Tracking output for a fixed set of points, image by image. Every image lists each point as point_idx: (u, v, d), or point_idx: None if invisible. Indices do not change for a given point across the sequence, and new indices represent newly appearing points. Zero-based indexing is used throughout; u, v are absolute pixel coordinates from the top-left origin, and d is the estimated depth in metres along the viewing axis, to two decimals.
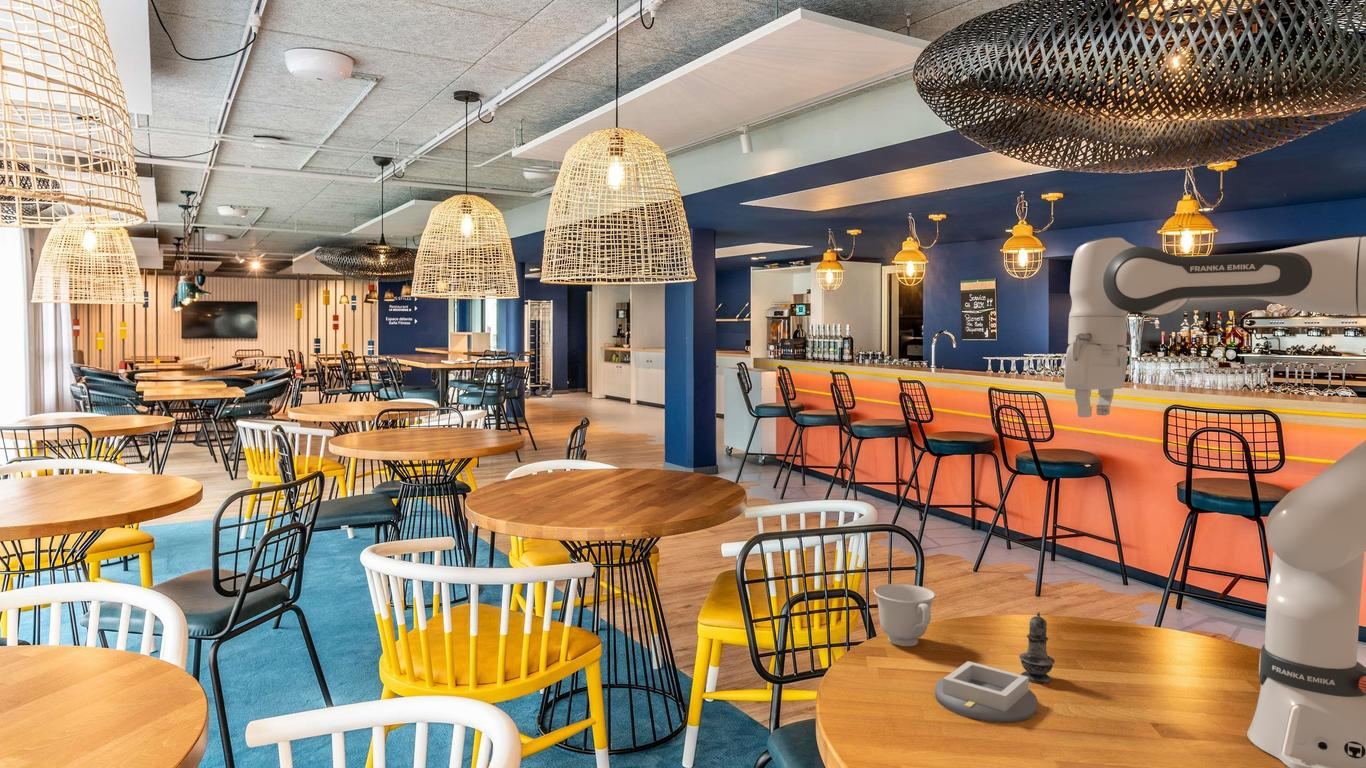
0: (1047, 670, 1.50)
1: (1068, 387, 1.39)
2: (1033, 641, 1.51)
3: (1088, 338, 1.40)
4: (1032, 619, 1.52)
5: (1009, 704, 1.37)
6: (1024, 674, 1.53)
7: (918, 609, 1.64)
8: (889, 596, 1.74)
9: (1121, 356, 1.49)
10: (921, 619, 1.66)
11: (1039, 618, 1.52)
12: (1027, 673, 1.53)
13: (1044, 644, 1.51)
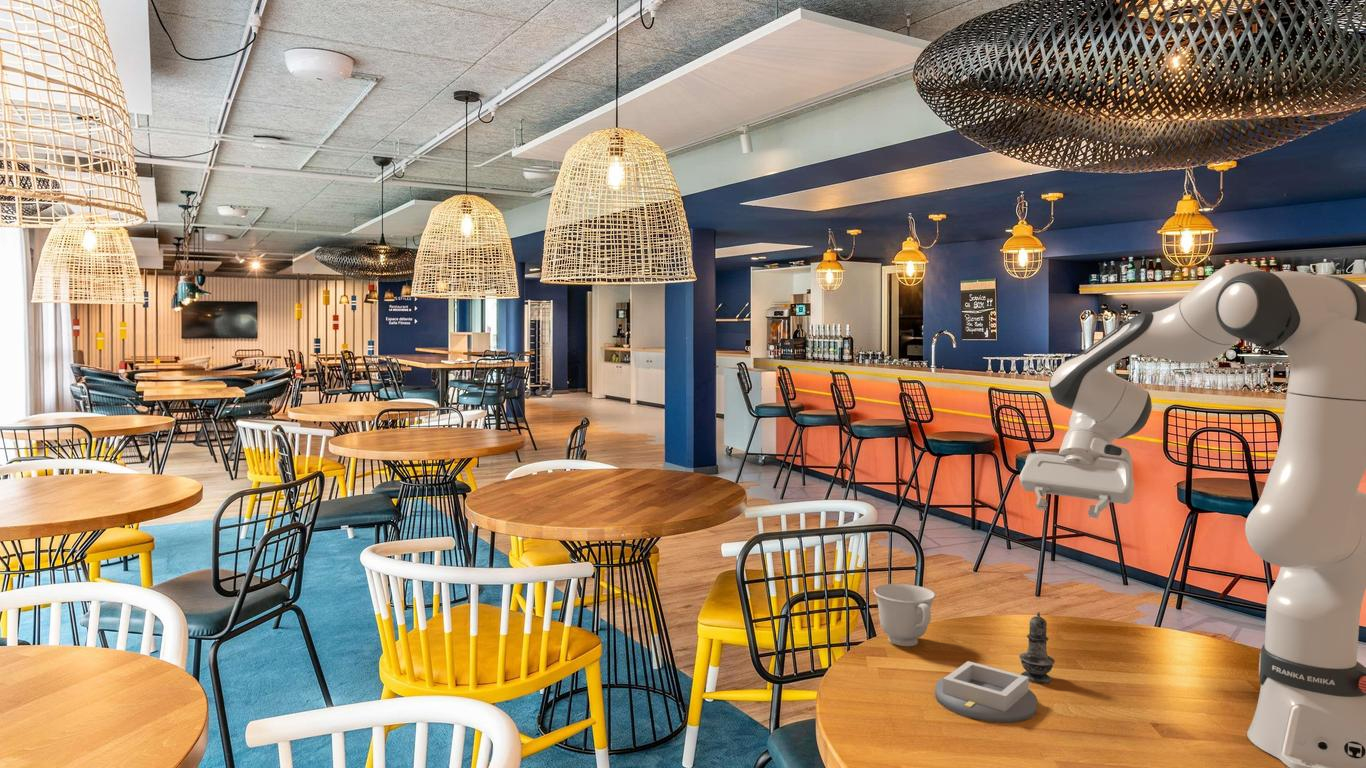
0: (1047, 670, 1.50)
1: (1023, 488, 1.71)
2: (1033, 641, 1.51)
3: (1052, 454, 1.72)
4: (1032, 619, 1.52)
5: (1009, 704, 1.37)
6: (1024, 674, 1.53)
7: (918, 609, 1.64)
8: (889, 596, 1.74)
9: (1117, 467, 1.61)
10: (921, 619, 1.66)
11: (1039, 618, 1.52)
12: (1027, 673, 1.53)
13: (1044, 644, 1.51)
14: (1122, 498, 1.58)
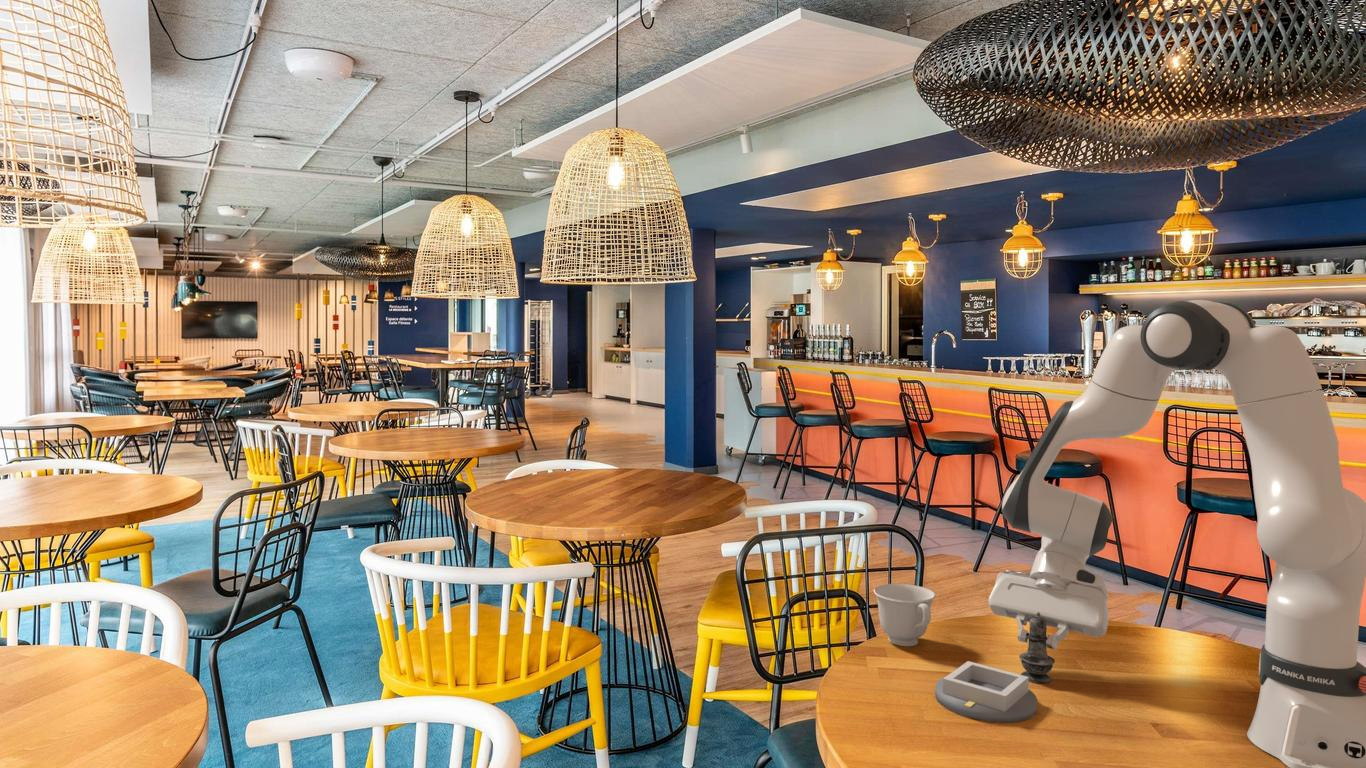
0: (1047, 669, 1.50)
1: None
2: (1033, 641, 1.51)
3: (1023, 574, 1.62)
4: (1032, 619, 1.52)
5: (1009, 704, 1.37)
6: (1024, 674, 1.53)
7: (918, 609, 1.64)
8: (889, 596, 1.74)
9: (1090, 596, 1.51)
10: (921, 619, 1.66)
11: (1039, 618, 1.52)
12: (1027, 673, 1.54)
13: (1044, 644, 1.51)
14: (1095, 632, 1.48)
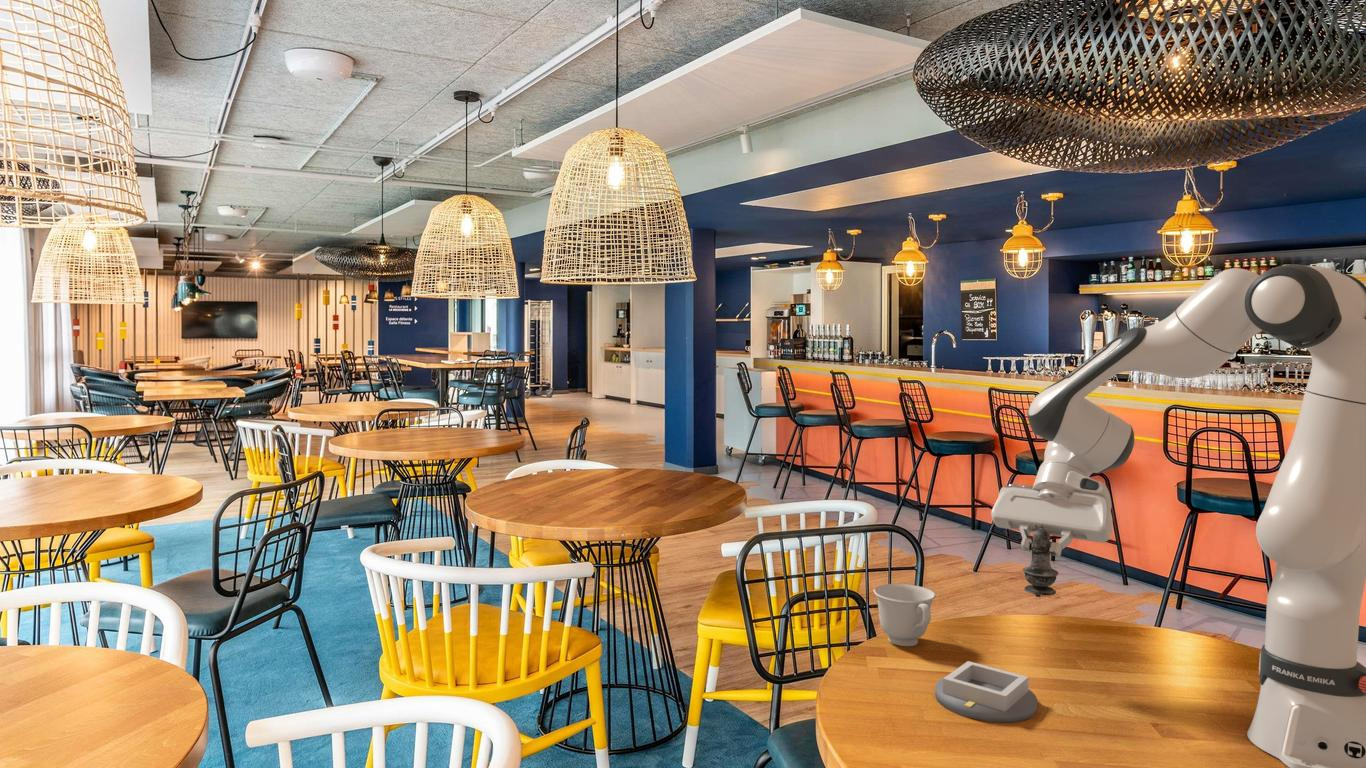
0: (1051, 581, 1.49)
1: (995, 524, 1.60)
2: (1037, 553, 1.50)
3: (1026, 487, 1.61)
4: (1035, 531, 1.51)
5: (1009, 704, 1.37)
6: (1028, 587, 1.52)
7: (918, 609, 1.64)
8: (889, 596, 1.74)
9: (1094, 503, 1.50)
10: (921, 619, 1.66)
11: (1042, 530, 1.51)
12: (1030, 586, 1.53)
13: (1048, 556, 1.50)
14: (1099, 537, 1.47)
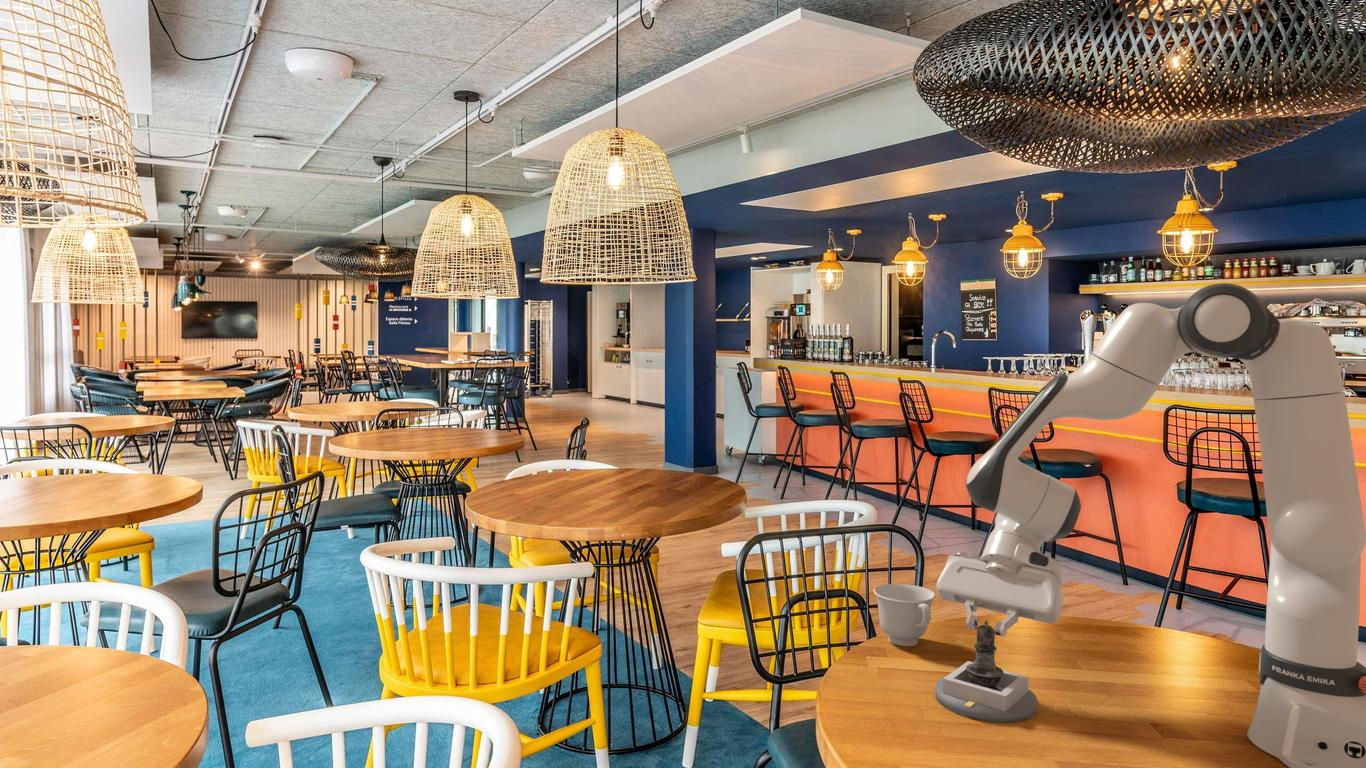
0: (995, 682, 1.41)
1: (941, 596, 1.51)
2: (980, 651, 1.42)
3: (974, 557, 1.51)
4: (979, 627, 1.43)
5: (1009, 704, 1.37)
6: None
7: (918, 609, 1.64)
8: (889, 596, 1.74)
9: (1043, 580, 1.41)
10: (921, 619, 1.66)
11: (987, 626, 1.42)
12: None
13: (992, 654, 1.42)
14: (1046, 618, 1.38)
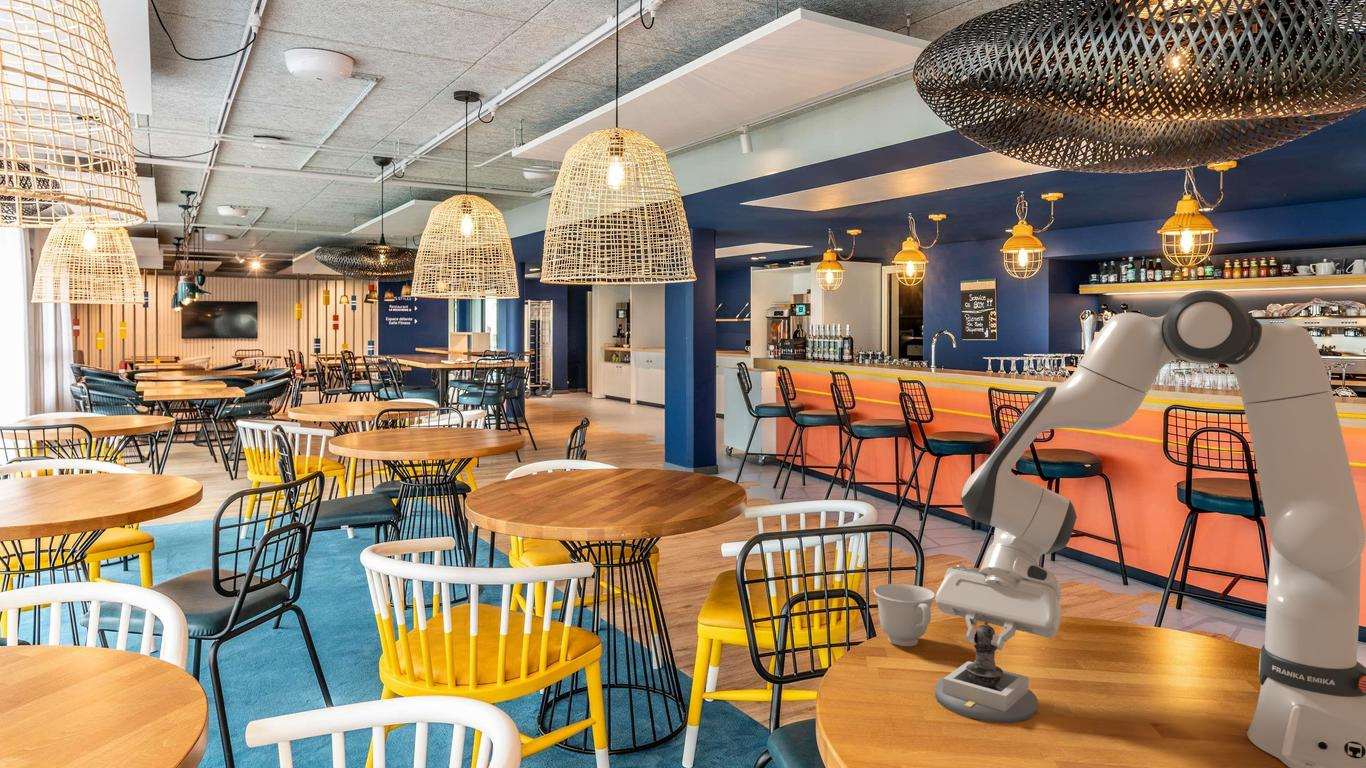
0: (995, 682, 1.41)
1: None
2: (980, 651, 1.42)
3: (973, 570, 1.52)
4: (979, 628, 1.43)
5: (1009, 704, 1.37)
6: None
7: (918, 609, 1.64)
8: (889, 596, 1.74)
9: (1041, 594, 1.41)
10: (921, 619, 1.66)
11: (987, 627, 1.42)
12: None
13: (992, 654, 1.42)
14: (1045, 632, 1.38)
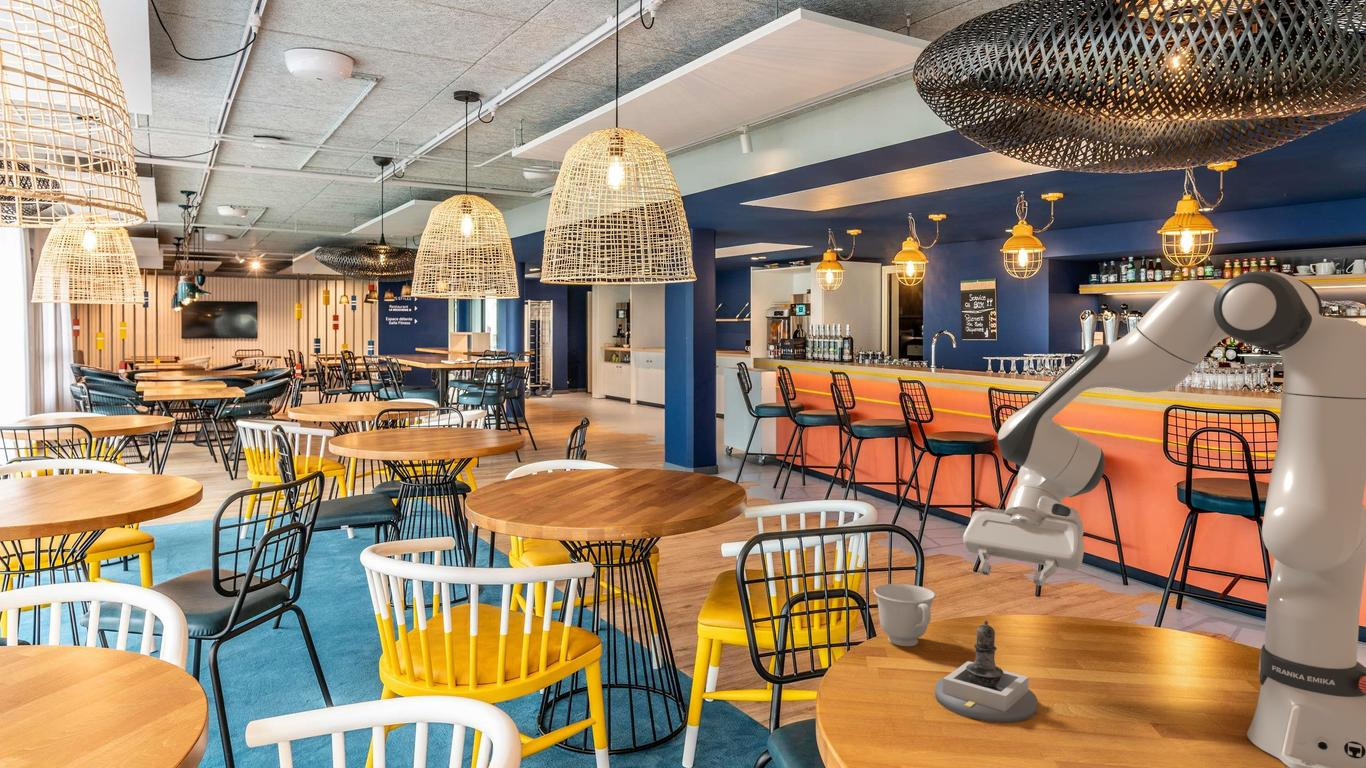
0: (995, 682, 1.41)
1: (967, 549, 1.58)
2: (980, 651, 1.42)
3: (998, 511, 1.59)
4: (979, 628, 1.43)
5: (1009, 704, 1.37)
6: None
7: (918, 609, 1.64)
8: (889, 596, 1.74)
9: (1065, 529, 1.48)
10: (921, 619, 1.66)
11: (987, 626, 1.42)
12: None
13: (992, 654, 1.42)
14: (1070, 564, 1.45)
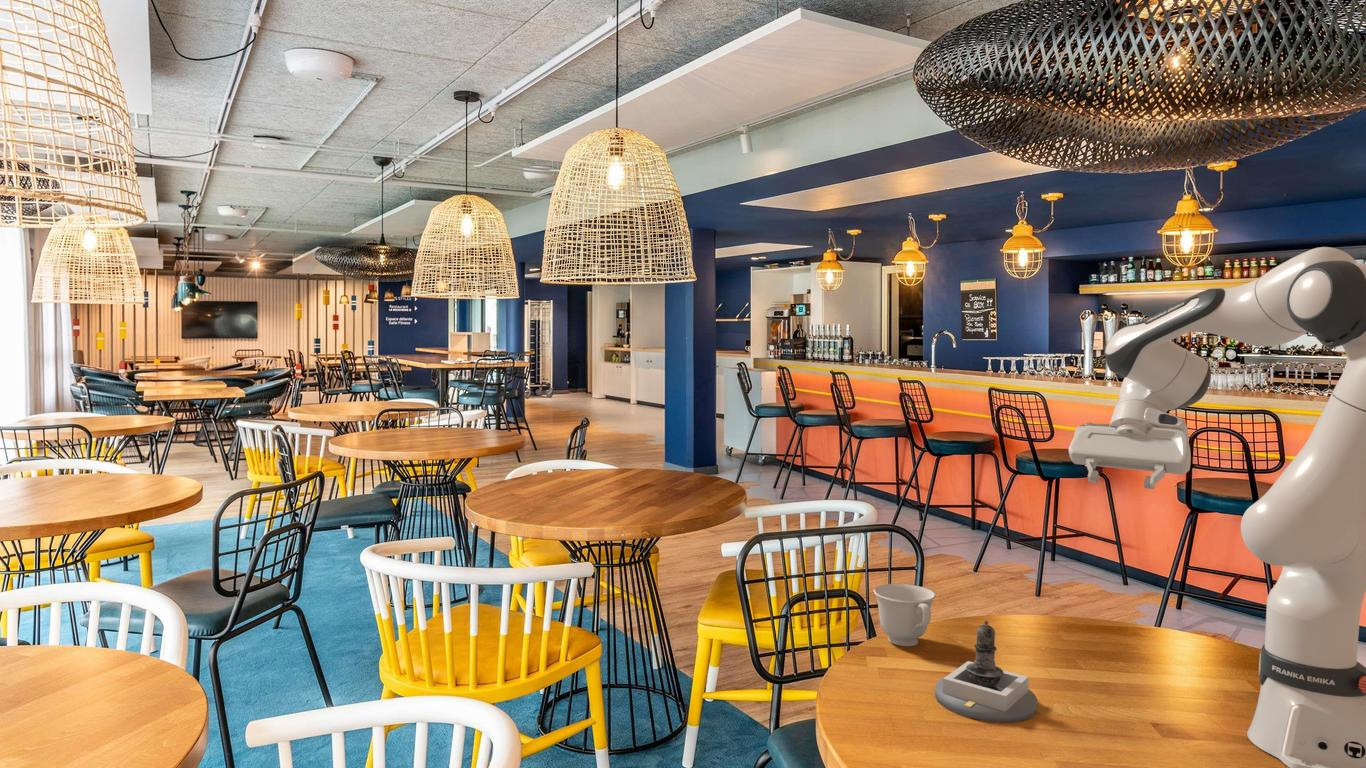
0: (995, 682, 1.41)
1: None
2: (980, 651, 1.42)
3: (1102, 425, 1.66)
4: (979, 627, 1.43)
5: (1009, 704, 1.37)
6: None
7: (918, 609, 1.64)
8: (889, 596, 1.74)
9: (1173, 437, 1.55)
10: (921, 619, 1.66)
11: (987, 626, 1.42)
12: None
13: (992, 654, 1.42)
14: (1179, 468, 1.52)
